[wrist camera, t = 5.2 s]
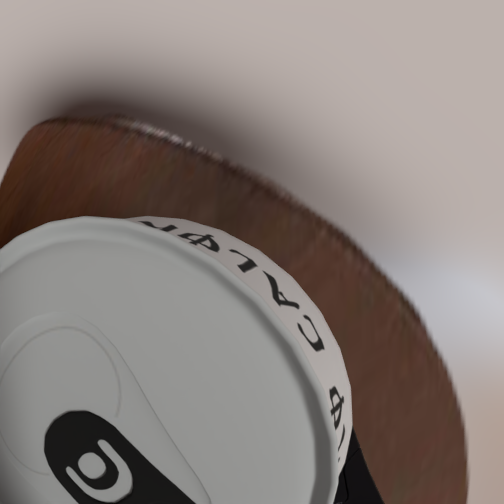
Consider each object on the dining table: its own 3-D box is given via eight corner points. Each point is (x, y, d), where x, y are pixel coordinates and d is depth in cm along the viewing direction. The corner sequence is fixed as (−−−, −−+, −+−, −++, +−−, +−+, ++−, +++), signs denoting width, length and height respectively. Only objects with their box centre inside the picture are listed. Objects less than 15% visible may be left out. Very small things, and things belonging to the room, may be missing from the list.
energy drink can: (229, 277, 18) (121, 75, 3) (305, 353, 17) (496, 442, 2) (154, 348, 17) (-95, 365, 2) (227, 424, 16) (141, 644, 1)
